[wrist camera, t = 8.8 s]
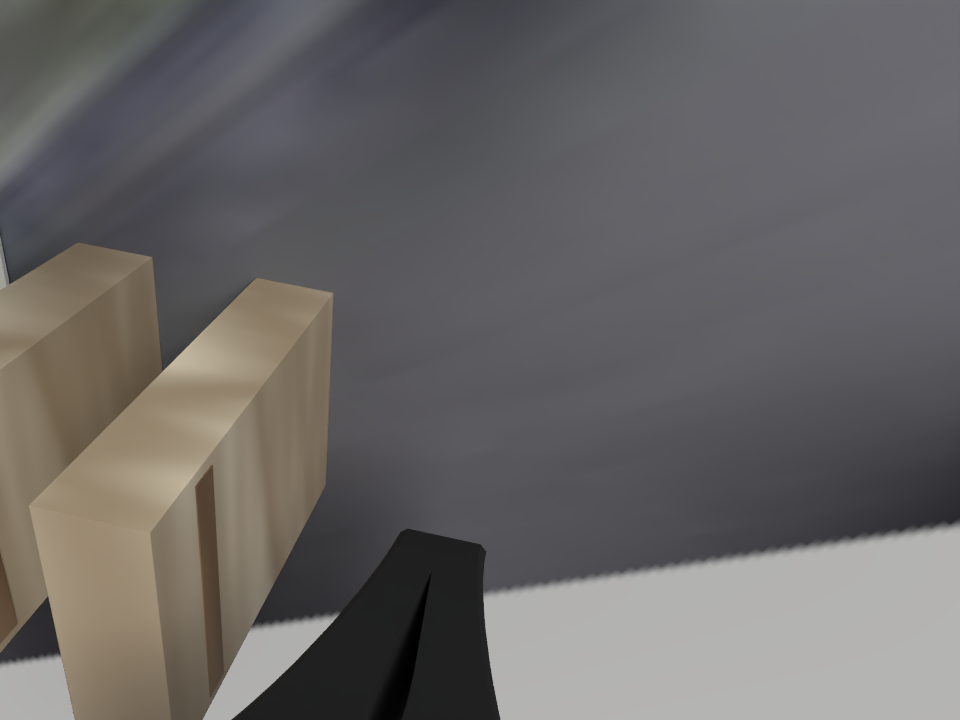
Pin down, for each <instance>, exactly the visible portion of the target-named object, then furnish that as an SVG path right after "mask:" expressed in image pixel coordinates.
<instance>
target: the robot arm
mask: <svg viewBox="0 0 960 720" xmlns="http://www.w3.org/2000/svg"><path fill="white" fill-rule="evenodd" d="M485 555H486V551H485V549H484V548H483V547H482V546H481V545H480V544H476V543H471V542H467V541H462V540H457V539H453V538H448V537H444V536H439V535H434V534H430V533H425V532H421V531H416V530H411V529H406V530H404V531H402V532H400V534H399V536H398V537H397V539H396V541H395V542H394V544H393V546H392V547H391V549H390V550H389V552H388V553H387V555H386V556H385V557H384V559H383V560H382V562H381V563H380V565H379V566H378V567H377V569H376V570H375V571H374V573H373V574H372V575H371V577H370V578H369V579H368V580H367V582H366V583H365V584H364V586H363V587H362V588H361V589H360V591H359V592H358V593H357V594H356V595H355V597H354V598H353V599H352V600H351V601H350V603H349V604H348V605H347V606H346V607H345V608H344V610H343V611H342V612H341V613H340V614H339V616H338V617H337V618H336V619H335V620H334V621H333V623H332V624H331V625H330V626H329V627H328V628H327V629H326V630H325V631H324V632H323V634H321V635H320V637H319V638H318V639H317V640H316V641H315V642H314V643H313V644H312V645H311V646H310V647H309V648H308V649H307V650H306V651H305V652H304V653H303V654H302V655H301V657H300V658H299V659H298V660H297V661H296V662H295V663H294V664H293V665H292V666H291V667H290V668H289V669H288V670H286V672H285V673H283V674H282V675H281V676H280V677H279V678H278V679H277V680H276V681H275V682H274V683H273V684H272V685H271V686H270V687H269V688H268V689H267V690H265V691H264V692H263V693H262V694H261V695H260V696H259V697H257V698H256V699H255V700H254V701H253V702H252V703H251V704H250V705H248V706H247V707H246V708H245V709H244V710H243V711H241V712H240V713H239V714H238V715H237V716H236V717H234V718H233V719H232V720H500V716H499V711H498V706H497V702H496V696H495V691H494V686H493V680H492V675H491V668H490V661H489V653H488V645H487V638H486V630H485V619H484V602H483V572H484V561H485Z"/></svg>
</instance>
